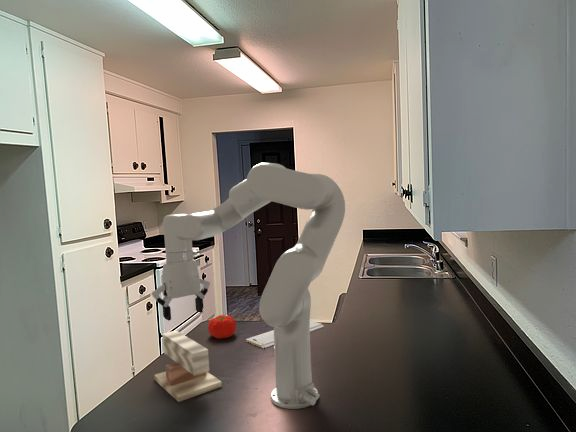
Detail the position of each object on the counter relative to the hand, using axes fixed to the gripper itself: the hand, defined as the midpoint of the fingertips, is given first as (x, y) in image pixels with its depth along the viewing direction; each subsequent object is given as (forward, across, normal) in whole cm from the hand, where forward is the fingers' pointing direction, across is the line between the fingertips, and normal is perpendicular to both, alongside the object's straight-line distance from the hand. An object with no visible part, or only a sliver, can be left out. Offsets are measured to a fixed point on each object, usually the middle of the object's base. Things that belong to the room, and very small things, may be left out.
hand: (184, 315), depth 123 cm
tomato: (+20, -27, -29) cm, 44 cm away
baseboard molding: (+21, -46, -13) cm, 52 cm away
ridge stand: (+20, 0, -1) cm, 20 cm away
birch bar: (+14, 0, -1) cm, 14 cm away
